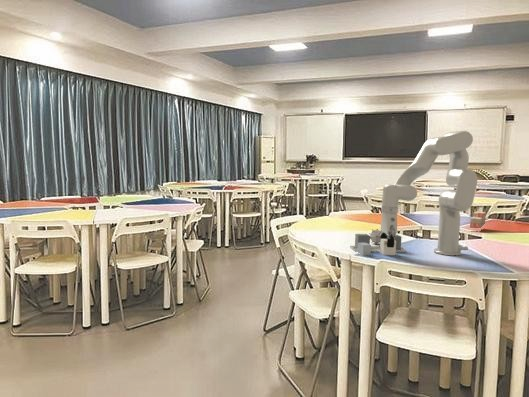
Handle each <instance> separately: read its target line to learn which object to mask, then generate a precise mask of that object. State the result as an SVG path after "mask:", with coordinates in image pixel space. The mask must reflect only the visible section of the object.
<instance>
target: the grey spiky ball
mask: <svg viewBox="0 0 529 397" xmlns="http://www.w3.org/2000/svg"><path fill="white" fill-rule="evenodd" d="M371 230H372V231H371V233H370V232H369V234H368V235H369V236H370V241H371V243H374V244H375V246H377V245H378V244H380V237H381V230H379V229H378V228H376V230H374V229H371Z"/></svg>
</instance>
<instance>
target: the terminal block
mask: <svg viewBox="0 0 529 397" xmlns="http://www.w3.org/2000/svg"><path fill="white" fill-rule="evenodd" d="M371 246H372V244H367V243H358V248H357V251H356V253H357V252H358V253H357V254H359V253H360V254H359V255H361V256H371V254H372V253H371Z"/></svg>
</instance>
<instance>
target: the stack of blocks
mask: <svg viewBox="0 0 529 397" xmlns="http://www.w3.org/2000/svg"><path fill="white" fill-rule="evenodd" d="M486 214H487V213H486V211H474V212H473V216H471V218H470V222H469V229H470V228H481V227H482V226H483V225H484V224H485V225H486V219H487V218H486Z"/></svg>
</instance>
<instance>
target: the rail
mask: <svg viewBox="0 0 529 397" xmlns="http://www.w3.org/2000/svg"><path fill="white" fill-rule="evenodd" d="M354 235H355V238H354V239H355V240H354V245H350V246H349V248H350V249H351V250H352V249H353V250H352V251H354V252H357V248H358V243H367V244H370V243H371V239H370V234H368V233H355V234H354ZM387 239H388V234H387ZM394 240H396V253H406V252H407V249H405V248H404V247H403V246H402V236H401V235H400V234H396V235H395V239H394ZM370 245H371V244H370ZM371 252H374V253H376V252H377V253H378V252H379V253H380V245H379V246H377V245H375V246H374V245H371Z"/></svg>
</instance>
